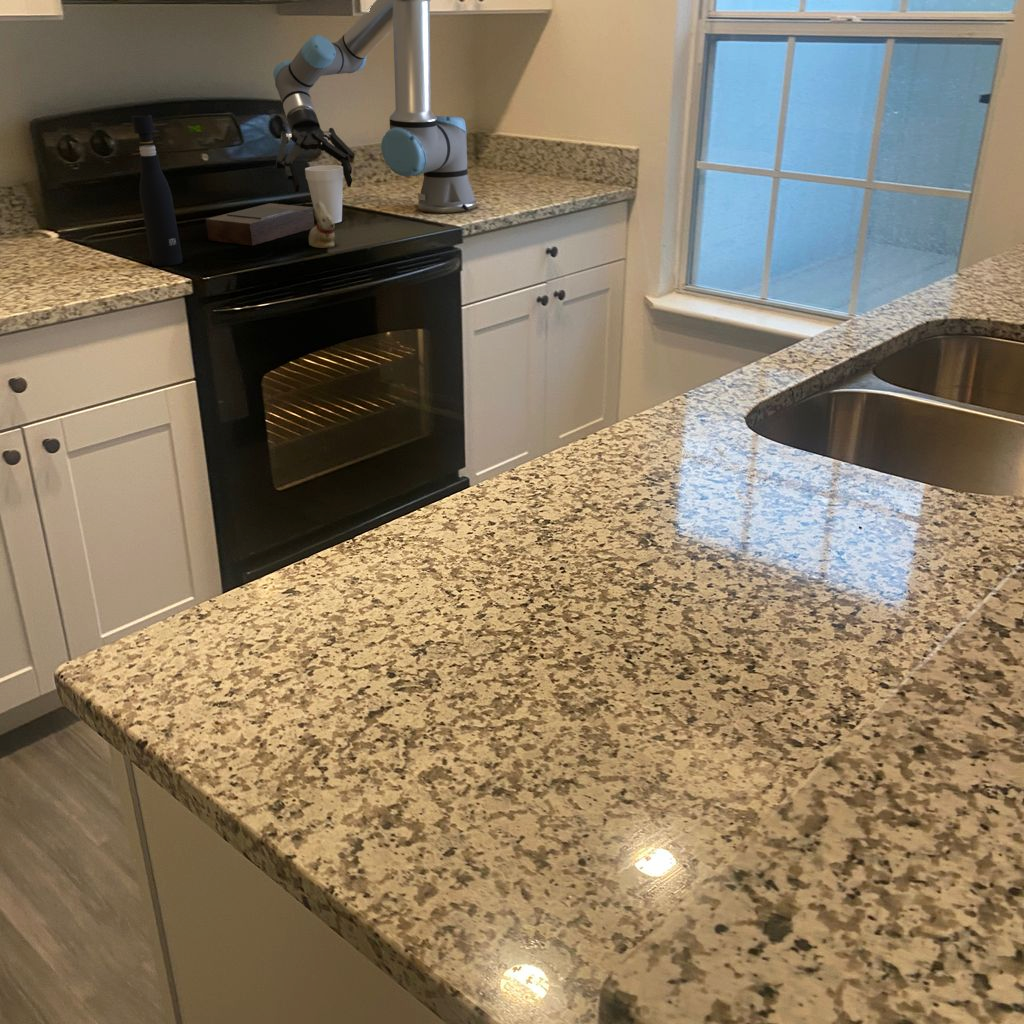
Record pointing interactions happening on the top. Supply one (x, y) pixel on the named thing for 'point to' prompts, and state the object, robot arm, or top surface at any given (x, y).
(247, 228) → the slotted wooden box
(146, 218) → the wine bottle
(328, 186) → the foam cup
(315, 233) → the chocolate bunny
